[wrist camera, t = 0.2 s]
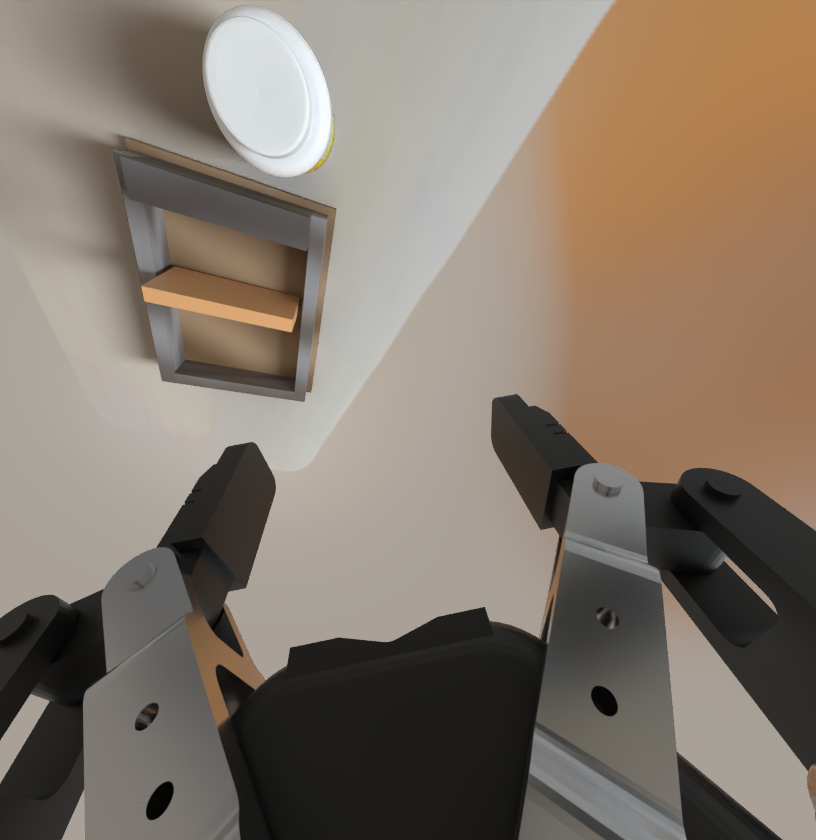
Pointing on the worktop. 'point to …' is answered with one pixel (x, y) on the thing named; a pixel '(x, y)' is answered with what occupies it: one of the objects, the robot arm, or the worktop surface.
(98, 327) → the worktop surface
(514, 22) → the worktop surface
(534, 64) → the worktop surface
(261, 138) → the supplement bottle
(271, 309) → the board
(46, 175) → the worktop surface
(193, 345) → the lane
